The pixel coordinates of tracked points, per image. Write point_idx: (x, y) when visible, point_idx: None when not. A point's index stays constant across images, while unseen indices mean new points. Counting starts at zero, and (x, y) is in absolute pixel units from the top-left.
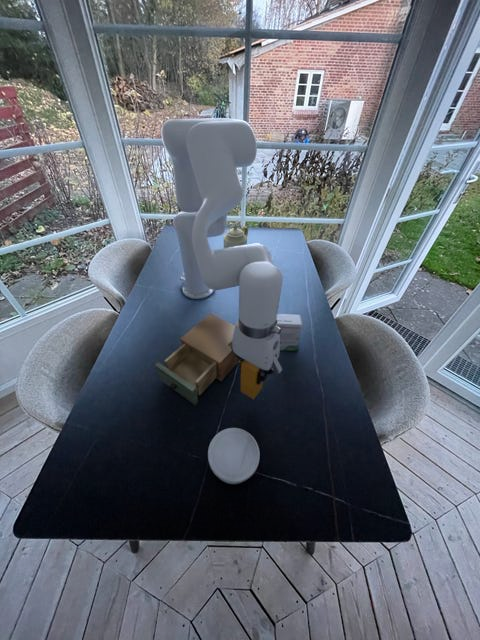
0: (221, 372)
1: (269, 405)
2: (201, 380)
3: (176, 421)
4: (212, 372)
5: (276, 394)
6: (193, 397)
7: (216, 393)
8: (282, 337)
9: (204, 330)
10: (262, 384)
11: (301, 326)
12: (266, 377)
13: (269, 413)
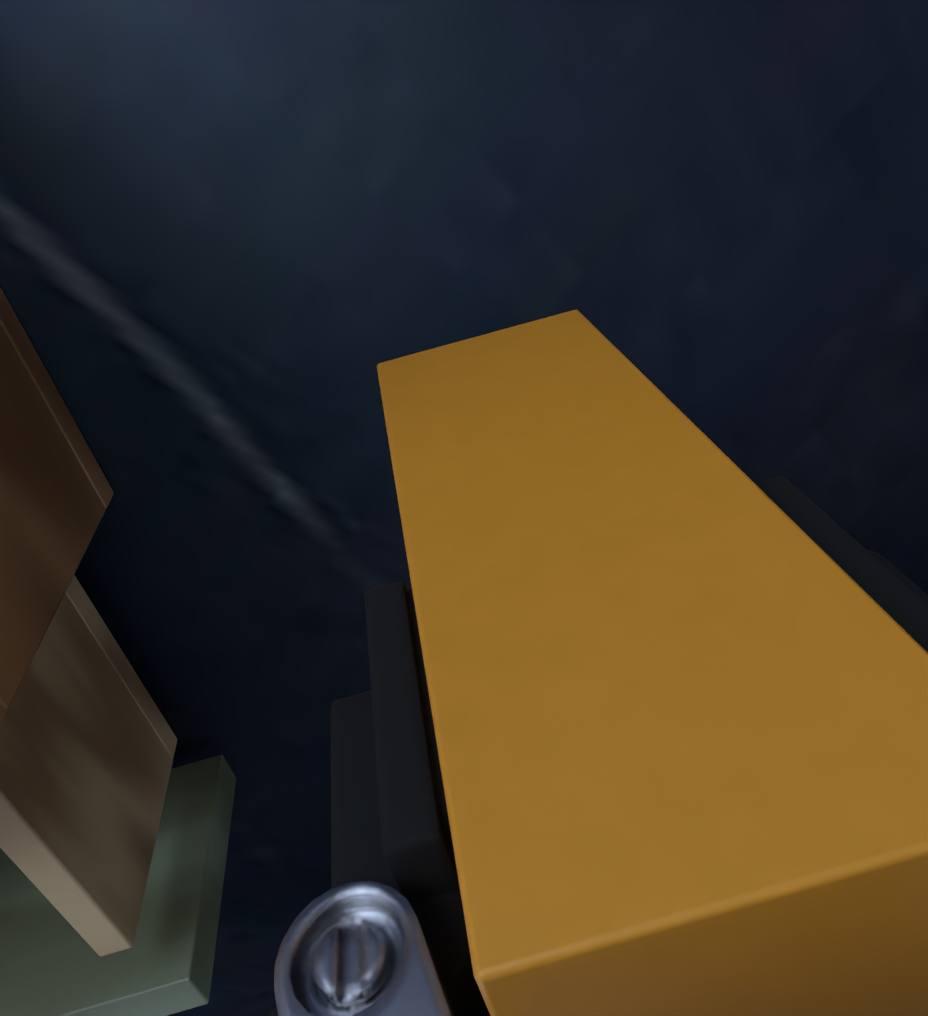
0: (64, 569)
1: (666, 273)
2: (110, 878)
3: (264, 865)
4: (32, 699)
5: (647, 100)
6: (220, 890)
7: (221, 589)
8: None
9: None
10: (607, 344)
11: None
12: (876, 555)
13: (713, 334)
